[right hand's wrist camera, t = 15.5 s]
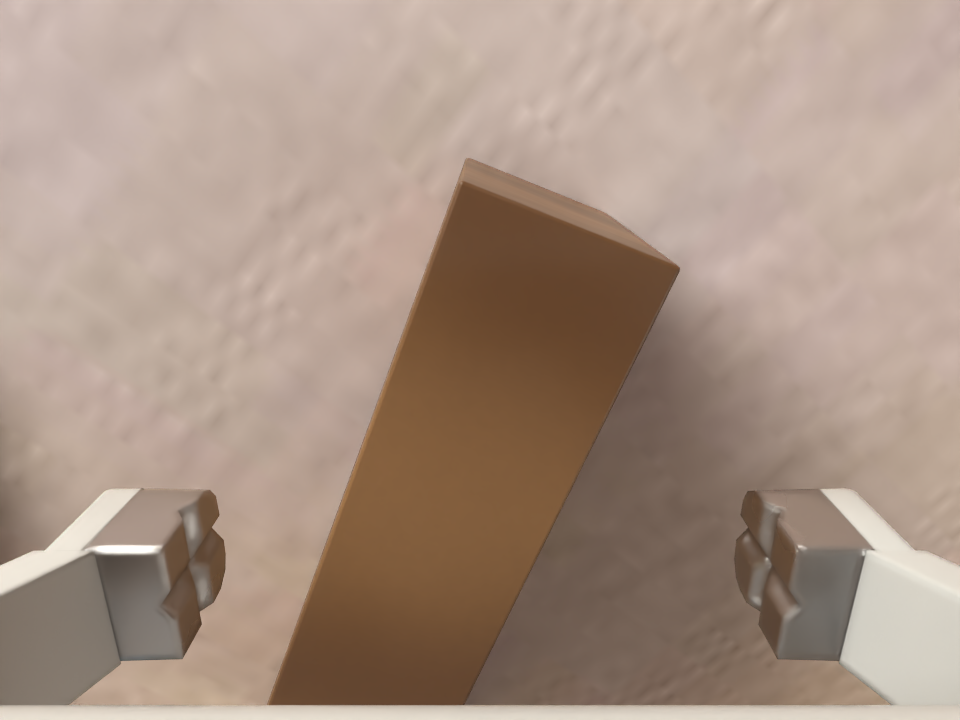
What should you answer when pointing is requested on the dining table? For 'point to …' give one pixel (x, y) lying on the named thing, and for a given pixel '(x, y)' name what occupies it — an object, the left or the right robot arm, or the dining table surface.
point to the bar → (472, 442)
